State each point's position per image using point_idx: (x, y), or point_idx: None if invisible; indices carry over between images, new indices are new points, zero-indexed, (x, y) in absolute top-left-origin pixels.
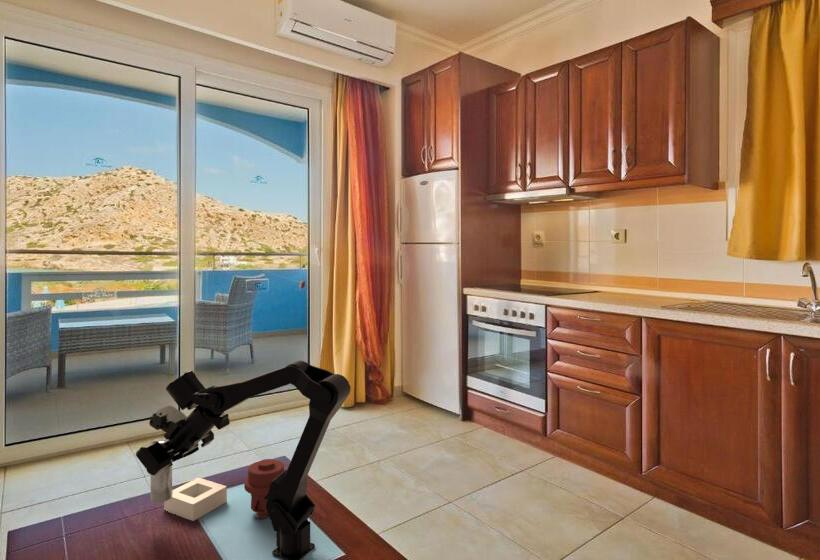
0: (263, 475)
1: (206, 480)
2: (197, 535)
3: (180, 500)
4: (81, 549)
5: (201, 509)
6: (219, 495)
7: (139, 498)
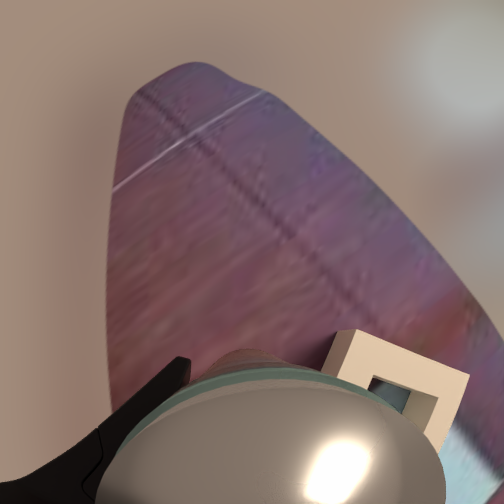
0: None
1: (452, 415)
2: None
3: None
4: (125, 214)
5: None
6: None
7: (389, 212)
